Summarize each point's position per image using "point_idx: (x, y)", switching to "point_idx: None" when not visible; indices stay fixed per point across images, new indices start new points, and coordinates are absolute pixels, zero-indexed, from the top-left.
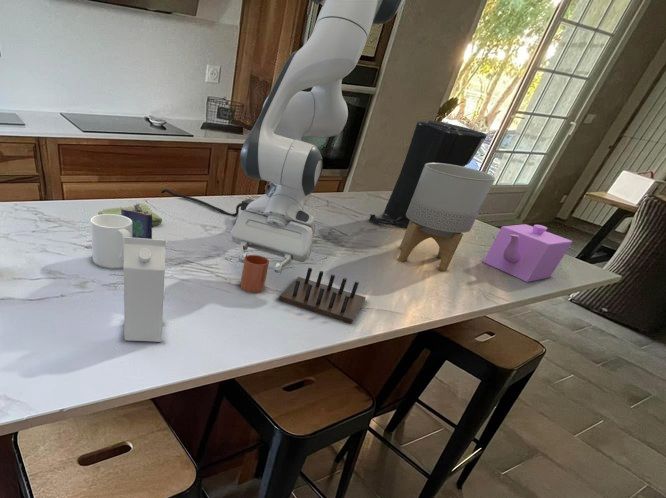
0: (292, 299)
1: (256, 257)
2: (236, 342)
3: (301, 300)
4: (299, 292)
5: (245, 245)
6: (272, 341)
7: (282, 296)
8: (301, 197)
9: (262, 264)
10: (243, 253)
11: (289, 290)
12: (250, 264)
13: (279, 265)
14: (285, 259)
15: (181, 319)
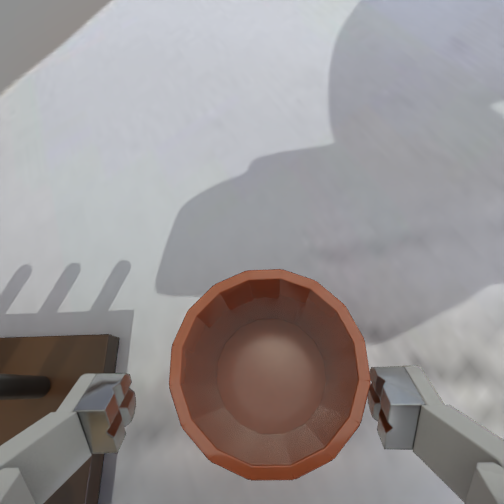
0: (45, 337)
1: (308, 450)
2: (160, 39)
3: (3, 359)
4: None
5: (479, 475)
6: (78, 90)
7: (95, 335)
8: None
9: (198, 311)
10: (419, 401)
11: None
12: (274, 271)
13: (82, 396)
14: (14, 452)
15: (329, 33)
